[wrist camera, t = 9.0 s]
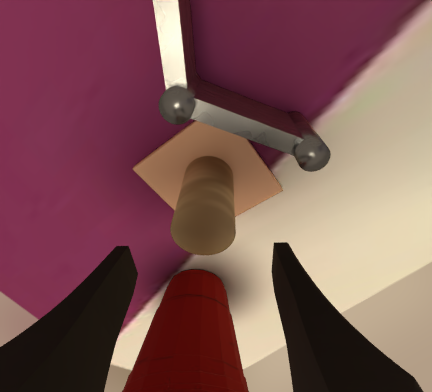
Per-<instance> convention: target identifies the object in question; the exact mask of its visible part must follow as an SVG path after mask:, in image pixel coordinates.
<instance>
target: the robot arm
mask: <svg viewBox="0 0 432 392" xmlns="http://www.w3.org/2000/svg"><path fill="white" fill-rule="evenodd" d="M137 275H138V272H137V269H136V267H135V264H134V261H133V258H132V255H131V252H130V249H129V246H116V247H115V249H114V250H113V251H112V252H111V253H110V254H109V255H108V256H107V257H106V258H105V259H104V260H103V261H102V262H101V263H100V264H99V266H98V267H97V268H96V269H95V270H94V271H93V272H92V273H91V274H90V275H89V276H88V277H87V278H86V279H85V280H84V281H83V282H82V283H81V284H80V285H79V286H78V287H77V288H76V289H75V290H74V291H73V292H72V293H71V294H69V295H68V296H67V297H66V298H65V299H64V300H63V301H62V302H61V303H59V304H58V305H57V306H56V307H55V308H53V309H52V310H51V311H50V312H49V313H47V314H46V315H45V316H44V317H42V318H41V319H40V320H38V321H37V322H36V323H34V324H33V325H32V326H30V327H29V328H28V329H26V330H25V331H24V332H22V333H21V334H19V335H18V336H17V337H15V338H14V339H12V340H11V341H9V342H7V343H6V344H4V345H3V346H1V347H0V392H104V388H105V384H106V380H107V375H108V371H109V367H110V363H111V359H112V355H113V351H114V348H115V344H116V341H117V338H118V335H119V332H120V329H121V327H122V324H123V321H124V318H125V316H126V313H127V310H128V307H129V304H130V302H131V299H132V296H133V293H134V289H135V285H136V280H137ZM272 278H273V286H274V293H275V297H276V301H277V305H278V310H279V314H280V318H281V322H282V326H283V330H284V334H285V339H286V344H287V350H288V357H289V363H290V370H291V377H292V385H293V392H423V391H422V389H421V387H420V386H419V384H418V383H417V381H416V380H415V378H414V377H413V376H411V375H410V374H409V373H408V372H406V371H405V370H404V369H402V368H401V367H400V366H399V365H397V364H396V363H395V362H393V361H392V360H391V359H390V358H388V357H387V356H386V355H385V354H383V353H382V352H381V351H380V350H379V349H378V348H376V347H375V346H374V345H373V344H372V343H371V342H369V341H368V340H367V339H366V338H365V337H364V336H363V335H362V334H361V333H360V332H359V331H358V330H357V329H355V328H354V327H353V326H352V325H351V324H350V323H349V322H348V321H347V320H346V319H345V318H344V317H343V316H342V315H341V314H340V313H339V312H338V310H337V309H336V308H335V307H334V306H333V305H332V304H331V303H330V302H329V300H328V299H327V298H326V297H325V296H324V295H323V293H322V292H321V291H320V290H319V288H318V287H317V286H316V285H315V283H314V282H313V281H312V279H311V278H310V277H309V275H308V274H307V272H306V271H305V270H304V268H303V267H302V265H301V264H300V262H299V261H298V259H297V258H296V256H295V254H294V253H293V251H292V249H291V247H290V246H289V244H288V243H274V248H273V261H272Z"/></svg>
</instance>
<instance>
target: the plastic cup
mask: <svg viewBox="0 0 432 392" xmlns="http://www.w3.org/2000/svg"><path fill="white" fill-rule="evenodd" d="M122 392H249V391H248V387H247V382H246V379H245V377H244V374H243V369H242V364H241V359H240V354H239V350H238V345H237V340H236V335H235V330H234V325H233V320H232V316H231V314H230V310H229V305H228V299H227V294H226V290H225V288H224V285H223V283H222V281H221V279H220V278H218V277H217V276H216V275H215V274H213V273H210V272H207V271H204V270H194V269H191V270H187V271H182V272H180V273H178V274H177V275H175V276H174V277H173V279H172V280H171V282H170V283H169V285H168V287H167V289H166V291H165V294H164V296H163V299H162V301H161V303H160V306H159V307H158V309H157V311H156V313H155V315H154V318H153V320H152V323H151V325H150V328H149V330H148V333H147V335H146V338H145V340H144V342H143V345H142V347H141V350H140V352H139V355H138V357H137V360H136V362H135V365H134V367H133V370H132V372H131V373H130V375H129V377H128V379H127V382H126V385H125V387H124V390H123V391H122Z"/></svg>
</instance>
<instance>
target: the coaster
mask: <svg viewBox="0 0 432 392" xmlns="http://www.w3.org/2000/svg"><path fill="white" fill-rule="evenodd" d="M203 156H213V157H217V158H220V159H222V160H223V161H225V162H226V163H227V164H228V165H229V167H230V168H231V170H232V173H233V184H234V207H235V217H236V216H237V215H239V214H241V213H243V212H245V211H247V210H248V209H250V208H252V207H254V206H256V205H257V204H259V203H261V202H263V201H265V200H267V199H268V198H270V197H272V196H274V195H276V194H278V193H279V192H281V191H283V189H282V187H281V185H280V184H279V182H278V181H277V180H276V178H275V177H274V175H273V174H272V173H271V171H270V170H269V168H268V167H267V165H266V164H265V163H264V161H263V160H262V158H261V157H260V156H259V154H258V153H257V151H256V150H255V148H254V147H253V146H252V144H251V143H250V141H249V140H248V139H246V138H243V137H241V136H238V135H235V134H232V133H229V132H227V131H224V130H221V129H218V128H216V127H213V126H210V125H207V124H204V123H202V122H199V121H196V120H195V121H193V122H192V123H191V124H189V125H188V126H187V127H185V128H184V129H183V130H181V131H180V132H179V133H177V134H176V135H175V136H173V137H172V138H171V139H169V140H168V141H167V142H165V143H164V144H163V145H161V146H160V147H159V148H157V149H156V150H155V151H153V152H152V153H151V154H149V155H148V156H147V157H145V158H144V159H143V160H141V161H140V162H139V163H137V164H136V165H135V166H134V167H133V170H134V171H135V172H136V173H137V174H138V175H139V176H140V177H141V178H142V179H143V180H144V181H145V182H146V183H147V184H148V185H149V186H150V187H151V188H152V189H153V190H154V191H155V192H156V193H157V194H158V195H159V196H160V197H161V198H162V199H163V200H164V201H165V202H166V203H167V204H168V205H169V206H170V207H172V208H173V209H174V210H175V208H176V204H177V201H178V197H179V193H180V190H181V186H182V182H183V178H184V175H185V171H186V169H187V167H188V165H189V164H190V163H191V162H192V161H193V160H195V159H197V158H199V157H203Z"/></svg>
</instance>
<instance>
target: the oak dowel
mask: <svg viewBox="0 0 432 392" xmlns="http://www.w3.org/2000/svg"><path fill="white" fill-rule="evenodd" d="M235 233H236V231H235V207H234V184H233V173H232V170H231V168H230V167H229V165H228V164H227V163H226V162H225V161H223V160H222V159H220V158H217V157H213V156H203V157H199V158H197V159H195V160H193V161H192V162H191V163H190V164H189V165H188V167H187V169H186V171H185V175H184V178H183V182H182V186H181V190H180V193H179V197H178V201H177V204H176V208H175V212H174V216H173V219H172V223H171V235H172V238H173V240H174V241H175V242H176V244H177V245H178V246H179V247H181V248H182V249H184V250H185V251H187V252H190V253H193V254H197V255H213V254H217V253H220V252H222V251H224V250H225V249H227V248H228V247H229V246H230V245H231V244H232V242H233V240H234V238H235Z"/></svg>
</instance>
